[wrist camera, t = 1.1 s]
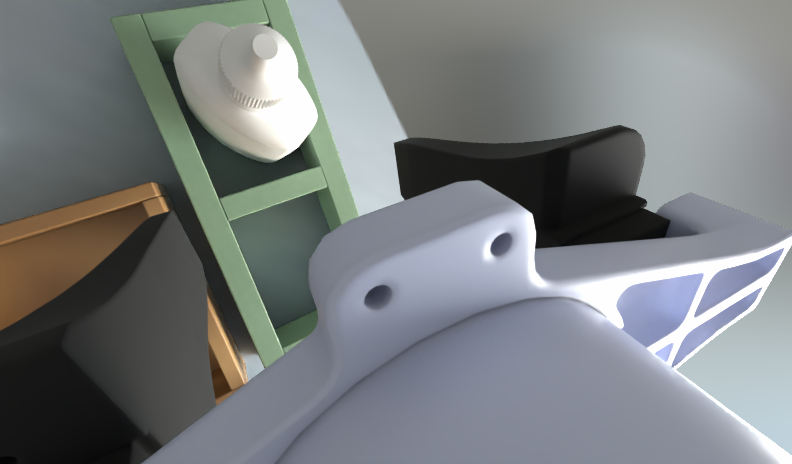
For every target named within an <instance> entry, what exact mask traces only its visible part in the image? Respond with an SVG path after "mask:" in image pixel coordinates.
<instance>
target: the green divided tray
mask: <svg viewBox="0 0 792 464" xmlns="http://www.w3.org/2000/svg"><path fill="white" fill-rule="evenodd" d="M110 21H111V23H112V25H113V28H114V30H115V32H116V34H117V37H118V39H119V41H120V43H121V46H122V48H123V50H124V52H125V55H126V57H127V59H128V61H129V64H130V66H131V68H132V71H133V73H134V75H135V77H136V80H137V82H138V84H139V86H140V89H141V91H142V93H143V95H144V98H145V100H146V102H147V104H148V107H149V109H150V111H151V113H152V116H153V118H154V120H155V122H156V125H157V127H158V129H159V131H160V134H161V136H162V138H163V140H164V143H165V145H166V147H167V149H168V152H169V154H170V156H171V158H172V161H173V163H174V165H175V167H176V170H177V172H178V174H179V176H180V179H181V181H182V183H183V185H184V188H185V190H186V192H187V194H188V197H189V199H190V201H191V203H192V206H193V208H194V210H195V212H196V215H197V217H198V219H199V222H200V224H201V226H202V228H203V231H204V233H205V235H206V237H207V240H208V242H209V244H210V246H211V249H212V251H213V253H214V255H215V258H216V260H217V262H218V264H219V267H220V269H221V271H222V273H223V276H224V278H225V280H226V282H227V285H228V287H229V289H230V291H231V294H232V296H233V298H234V300H235V303H236V305H237V307H238V309H239V312H240V314H241V316H242V318H243V321H244V323H245V325H246V327H247V330H248V332H249V334H250V336H251V339H252V341H253V343H254V345H255V348H256V350H257V352H258V354H259V357H260V359H261V361H262V364H263V366H264V368H265V369H266V368H267V367H268V366H269V365H271V364H272V363H273V362H275V361H276V360H277V359H279V358H280V357H281V356H283V355H284V354H285V353H286V352H288V351H289V350H290V349H292V348H293V347H294V346H296V345H297V344H298V343H300V342H301V341H302V340H304V339H305V338H306V337H307V336H309V335H310V334H311V333H312V332H313V331H314V329H315V328H316V326H317V322H318V313H317V310H315V311H313V312H311V313H309V314H307V315H305V316H302V317H300V318H298V319H296V320H294V321H292V322H290V323H288V324H285V325H283V326H281V327H279V328H277V329H275V330H274V328H273V325H272V323H271V321H270V318H269V316H268V314H267V311H266V309H265V307H264V304H263V302H262V300H261V297H260V295H259V292H258V290H257V288H256V285H255V283H254V281H253V278H252V276H251V274H250V271H249V269H248V267H247V264H246V262H245V259H244V257H243V255H242V252H241V250H240V248H239V245H238V243H237V241H236V238H235V236H234V234H233V231H232V229H231V227H230V224H229V222H228V221H230V220H233V219H236V218H239V217H242V216H245V215H248V214H251V213H254V212H256V211H259V210H262V209H265V208H268V207H271V206H274V205H277V204H280V203H282V202H285V201H288V200H291V199H294V198H297V197H300V196H303V195H306V194H308V193H311V192H314V191H316V193H317V196H318V198H319V201H320V204H321V207H322V210H323V212H324V215H325V218H326V221H327V223H328V226H329V229H330V232H332V231H333V230H335V229H336V228H338V227H339V226H341V225H343V224H344V223H346V222H347V221H349V220H351V219H354V218H357V217H359V214H358V211H357V208H356V205H355V202H354V199H353V196H352V193H351V190H350V187H349V184H348V181H347V178H346V175H345V172H344V169H343V166H342V163H341V160H340V157H339V154H338V151H337V148H336V145H335V142H334V139H333V137H332V134H331V131H330V128H329V125H328V122H327V119H326V116H325V113H324V110H323V107H322V104H321V101H320V98H319V95H318V92H317V89H316V86H315V83H314V80H313V77H312V74H311V71H310V68H309V65H308V62H307V59H306V57H305V54H304V51H303V48H302V45H301V42H300V39H299V36H298V33H297V30H296V27H295V24H294V21H293V18H292V15H291V12H290V9H289V6H288V3H287V0H238V1H230V2H223V3H215V4H208V5H200V6H193V7H185V8H178V9H170V10H163V11H156V12H148V13H142V14H141V15H140V14H132V15H125V16H117V17H111V18H110ZM202 22H215V23H218V24H222V25H225V26H227V27H230V28H233V29H234V27H237V25H238V26H241V24H243V25H245V23H246V24H249V23H251V24H253V23H255V24H257V23H258V24H260V25H261V24H263V25H264V26H267V27H271V29H274V30H275V31H278V33H279V34H281V35H282V37H285V40H287V41H288V43H289V44H290V46H291V47H292V50H293V51H294V54H295V55H296V56H295V57H296V59H297V63H298V64H297V66H298V69H297V70H298V73H297V74H298V76H297V77H298V78H299V80H300V81H301V82H302V84H303V85H304V87H305V88H306V90H307V92H308V93H309V95H310V97H311V99H312V101H313V103H314V105H315V108H316V110H317V116H318V117H317V121H316V123H315V125H314V127H313V128H312V130H311V131H310V133H309V134H308V135H307V137H306V138H305V139H304V141H303V142H302V143H301V144H300V148H301V151H302V154H303V157H304V160H305V162H306V165H307V168H308V169H307V170H304V171H301V172H298V173H295V174H292V175H289V176H285V177H282V178H279V179H276V180H273V181H270V182H267V183H264V184H260V185H257V186H254V187H251V188H248V189H245V190H242V191H239V192H236V193H232V194H229V195H226V196H223V197H220V198H218V196H217V194H216V191H215V189H214V187H213V184H212V182H211V179H210V177H209V175H208V172H207V170H206V168H205V165H204V163H203V161H202V158H201V156H200V154H199V151H198V149H197V146H196V144H195V142H194V139H193V137H192V135H191V132H190V130H189V128H188V125H187V123H186V121H185V118H184V116H183V114H182V111H181V109H180V106H179V104H178V102H177V99H176V97H175V95H174V92H173V90H172V88H171V85H170V83H169V81H168V78H167V76H166V74H165V71H164V69H163V66H162V64H161V63H165V62H170V61H174V60H173V58H174V54H175V51H176V48H177V47H178V46H179V44H180V43H181V42H182V40H183V39H184V38H185V37H186V36H187V35H188V33H189V32H190V31H191V30H192V29H193V28H194V27H195V26H196V25H197V24H199V23H202Z"/></svg>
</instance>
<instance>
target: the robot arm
mask: <svg viewBox="0 0 792 464" xmlns="http://www.w3.org/2000/svg"><path fill="white" fill-rule="evenodd" d="M394 148H395V155H396V162H397V169H398V177H399V184H400V191H401V195H402V197H403V198H404V199H405V201H402V202H399V203H396V204H393V205H391V206H388V207H385V208H382V209H379V210H377V211H374V212H371V213H368V214H365V215H363V216H360V217H357V218H354V219H351V220H349V221H347V222H346V223H344V224H343V225H341V226H339V227H338V228H336V229H335V230H333V231H332V232H330V233H328V234H327V235H325V236H324V237H323V239H322V240H321V242H320V243H319V245H318V247H317V248H316V250H315V251H314V253H313V255H312V256H311V258H310V260H309V287H310V290H311V293H312V296H313V299H314V302H315V304H316V307H317V313H318V322H317V326H316V328H315V329H314V331H313V332H312V333H311V334H310V335H309V336H307V337H306V338H305V339H304V340H302V341H301V342H300V343H298V344H297V345H296V346H294V347H293V348H292V349H290V350H289V351H288V352H286V353H285V354H284V355H283V356H281V357H280V358H279V359H277V360H276V361H275V362H273V363H272V364H271V365H269V366H268V367H267V368H266V369H264V370H263V371H262V372H260V373H259V374H258V375H256V376H255V377H254V378H252V379H251V380H250V381H249V382H247V383H246V384H245V385H243V386H242V387H241V388H239V389H238V390H237V391H235V392H234V393H233V394H232V395H230V396H229V397H228V398H226V399H225V400H224V401H222V402H221V403H220V404H218V405H216V400H215V394H214V388H213V382H212V375H211V369H210V362H209V352H208V299H207V285H206V280H205V275H204V270H203V265H202V263H201V261H200V259H199V257H198V255H197V253H196V251H195V250H194V248H193V246H192V244H191V242H190V240H189V238H188V237H187V235H186V233H185V231H184V229H183V227H182V226H181V224H180V222H179V220H178V218H177V216H176V214H175V213H174V211H173V210H171V211H168V212H164V213H161V214H158V215H154V216H151V217H149V218H148V219H146V220H145V221H144V222H143V223H142V224H140V225H139V226H138V227H137V228H136V229H135V230H134V231H133V232H132V233H131V234H130V235H129V236H128V237H127V238H126V239H125V240H124V241H123V242H122V243H121V244H120V245H119V246H118V247H117V248H116V249H115V250H114V251H113V252H112V253H111V254H109V255H108V256H107V257H106V258H105V259H104V260H103V261H102V262H101V263H99V264H98V265H97V266H96V267H95V268H94V269H93V270H92V271H90V272H89V273H88V274H87V275H85V276H84V277H83V278H82V279H80V280H79V281H78V282H76V283H75V284H74V285H72V286H71V287H70V288H68V289H67V290H65V291H64V292H63V293H61V294H60V295H58V296H57V297H55V298H54V299H52V300H51V301H49V302H47V303H46V304H44V305H43V306H41V307H39V308H38V309H36V310H35V311H33V312H31V313H30V314H28V315H27V316H25V317H23V318H22V319H20V320H19V321H17V322H15V323H13V324H12V325H10V326H8V327H6V328H4V329H2V330H1V331H0V464H792V456H791V455H789V454H788V453H787V452H785V451H784V450H783V449H781V448H780V447H779V446H777V445H776V444H775V443H773V442H772V441H771V440H769V439H768V438H766V437H765V436H764V435H763V434H761V433H760V432H758V431H757V430H756V429H755V428H753V427H752V426H750V425H749V424H748V423H746V422H745V421H744V420H742V419H741V418H740V417H738V416H737V415H736V414H734V413H733V412H732V411H730V410H729V409H728V408H726V407H725V406H724V405H722V404H721V403H720V402H718V401H717V400H715V399H714V398H713V397H712V396H710V395H709V394H707V393H706V392H705V391H704V390H702V389H701V388H699V387H698V386H697V385H695V384H694V383H693V382H691V381H690V380H689V379H687V378H686V377H685V376H683V375H682V374H681V373H679V372H678V371H676V370H675V369H676V368H677V367H679V366H680V365H681V364H682V363H684V362H685V361H686V360H687V359H688V358H689V357H690V356H692V355H693V354H694V353H695V352H697V351H698V350H699V349H700V348H702V347H703V346H704V345H705V344H706V343H708V342H709V341H710V340H711V339H712V338H714V337H715V336H717V335H718V334H719V333H721V332H722V331H723V330H725V329H726V328H727V327H729V326H730V325H731V324H733V323H734V322H736V321H737V320H739V319H740V318H741V317H743V316H744V315H746V314H747V313H749V312H750V311H752V310H753V309H754V308H755V307H756V305H757V303H758V302H759V300H760V298H761V296H762V295H763V293H764V291H765V290H766V288H767V286H768V284H769V283H770V281H771V279H772V277H773V276H774V274H775V272H776V270H777V268H778V267H779V265H780V263H781V262H782V260H783V258H784V256H785V255H786V253H787V251H788V249H789V248H790V246H791V244H792V230H790V229H788V228H785V227H783V226H780V225H777V224H774V223H772V222H769V221H766V220H764V219H761V218H758V217H756V216H753V215H750V214H748V213H745V212H742V211H739V210H737V209H734V208H731V207H729V206H726V205H723V204H721V203H718V202H715V201H712V200H710V199H707V198H704V197H701V196H699V195H696V194H694V193H688V194H685V195H683V196H681V197H679V198H677V199H674V200H672V201H670V202H668V203H666V204H664V205H663V206H662V207H660V208H659V209H658V210H657V212H656V213H653V212H650V211H648V210H646V209H644V207H646V205H647V201H646V200H645V199H643V198H641V197H638V196H636V192H637V188H638V184H639V181H640V177H641V173H642V168H643V165H644V159H645V145H644V141H643V139H642V136H641V135H640V134H639V133H638V132H637V131H636V130H634V129H631V128H627V127H624V126H621V125H618V126H613V127H609V128H604V129H600V130H596V131H592V132H588V133H584V134H579V135H575V136H569V137H563V138H557V139H552V140H544V141H534V142H524V143H505V144H504V143H500V144H489V143H469V142H458V141H449V140H440V139H430V138H409V139H405V140H402V141H399V142H395V143H394Z"/></svg>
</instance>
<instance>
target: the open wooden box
mask: <svg viewBox="0 0 792 464" xmlns="http://www.w3.org/2000/svg"><path fill="white" fill-rule="evenodd" d="M171 210H173V211H174V213H175V214H176V211H175V209H174V207H173V205H172V203H171V200H170V198H169V196H168V194H167V192H166V189H165V187H164V185H163V184H159V183H154V182H147V183H144V184H140V185H137V186H133V187H130V188H126V189H123V190H119V191H116V192H112V193H109V194H106V195H102V196H99V197H95V198H92V199H88V200H85V201H81V202H78V203H74V204H71V205H67V206H64V207H60V208H57V209H53V210H50V211H46V212H43V213H39V214H36V215H32V216H29V217H25V218H22V219H18V220H15V221H11V222H8V223H4V224H1V225H0V331H1V330H2V329H4V328H6V327H8V326H10V325H12V324H13V323H15V322H17V321H19V320H20V319H22V318H23V317H25V316H27V315H28V314H30V313H31V312H33V311H35V310H36V309H38V308H39V307H41V306H43V305H44V304H46V303H47V302H49V301H51V300H52V299H54V298H55V297H57V296H58V295H60V294H61V293H63V292H64V291H65V290H67V289H68V288H70V287H71V286H72V285H74V284H75V283H76V282H78V281H79V280H80V279H82V278H83V277H84V276H85V275H87V274H88V273H89V272H90V271H92V270H93V269H94V268H95V267H96V266H97V265H98V264H99V263H101V262H102V261H103V260H104V259H105V258H106V257H107V256H108V255H109V254H111V253H112V252H113V251H114V250H115V249H116V248H117V247H118V246H119V245H120V244H121V243H122V242H123V241H124V240H125V239H126V238H127V237H128V236H129V235H130V234H131V233H132V232H133V231H134V230H135V229H136V228H137V227H138V226H139V225H140V224H142V223H143V222H144V221H145V220H146V219H148V218H149V217H151V216H154V215H158V214H161V213H164V212H168V211H171ZM176 216H177V214H176ZM177 218H178V216H177ZM178 220H179V218H178ZM179 222H180V220H179ZM180 224H181V222H180ZM181 226H182V225H181ZM205 280H206V285H207V299H208V352H209V362H210V369H211V375H212V382H213V388H214V394H215V400H216V405H218V404H220V403H221V402H222V401H224V400H225V399H226V398H228V397H229V396H230V395H232V394H233V393H234V392H235V391H237V390H238V389H239V388H241V387H242V386H243V385H245V384H246V383H247V382H248V379H247V373H246V367H245V363H244V360H243V358H242V356H241V354H240V352H239V349H238V347H237V345H236V343H235V341H234V338H233V336H232V334H231V332H230V330H229V327H228V325H227V323H226V321H225V319H224V317H223V314H222V312H221V310H220V308H219V306H218V303H217V301H216V299H215V297H214V295H213V292H212V290H211V288H210V286H209V284H208V281H207V279H206V277H205Z"/></svg>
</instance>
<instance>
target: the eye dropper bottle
mask: <svg viewBox="0 0 792 464" xmlns="http://www.w3.org/2000/svg"><path fill="white" fill-rule="evenodd" d="M295 56H296V55H295V54H294V51H293V50H292V47H291V46H290V44H289V43H288V41H287V40H285V37H282V35H281V34H279V33H278V31H275V30H274V29H271V27H267V26H264V25H263V24H261V25H260V24H258V23H257V24H255V23H253V24H251V23H249V24H246V23H245V25H243V24H241V26H238V25H237V27H234V29H233V28H230V27H227V26H225V25H222V24H218V23H215V22H202V23H199V24H197V25H196V26H195V27H194V28H193V29H192V30H191V31H190V32H189V33H188V35H187V36H186V37H185V38H184V39H183V40H182V42H181V43H180V44H179V46H178V47H177V48H176V51H175V54H174V58H173V60H174V64H175V69H176V73H177V77H178V80H179V83H180V86H181V90H182V93H183V96H184V99H185V102H186V104H187V106H188V108H189V110H190V111H191V112H192V114H193V115H194V117H195V118H196V119H197V120H198V122H199V123H200V124H201V125H202V126H203V127H204V128H205V129H206V130H207V131H208V132H209V133H210V134H211V135H212V136H213V137H214V138H215V139H217V140H218V141H219V142H221V143H222V144H223V145H225V146H226V147H228V148H230V149H231V150H233V151H235V152H237V153H239V154H241V155H243V156H245V157H248V158H250V159H253V160H256V161H260V162H265V163H274V162H276V161H277V160H279V159H281V158H283V157H284V156H286V155H287V154H289V153H291V152H292V151H293V150H295V149H296V148H298V147H299V146H300V144H301V143H302V142H303V141H304V139H305V138H306V137H307V135H308V134H309V133H310V131H311V130H312V128H313V127H314V125H315V123H316V121H317V117H318V116H317V110H316V108H315V105H314V103H313V101H312V99H311V97H310V95H309V93H308V92H307V90H306V88H305V87H304V85H303V84H302V82H301V81H300V80H299V78H298V77H297V76H298V74H297V73H298V70H297V69H298V66H297V64H298V63H297V59H296V57H295Z"/></svg>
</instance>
